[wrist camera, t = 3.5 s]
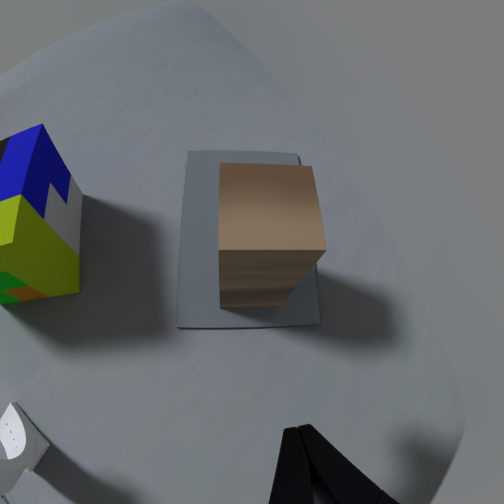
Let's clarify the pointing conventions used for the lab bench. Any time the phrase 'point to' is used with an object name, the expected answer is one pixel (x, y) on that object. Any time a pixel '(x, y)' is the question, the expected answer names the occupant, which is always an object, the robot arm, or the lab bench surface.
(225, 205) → the walnut block
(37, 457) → the headphone stand
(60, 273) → the puzzle toy
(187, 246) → the slate mat
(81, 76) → the lab bench surface
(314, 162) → the lab bench surface
